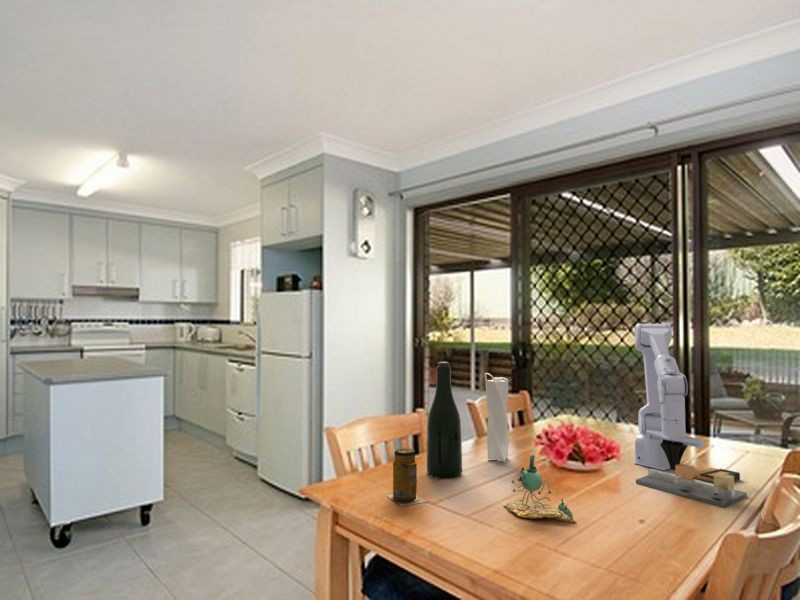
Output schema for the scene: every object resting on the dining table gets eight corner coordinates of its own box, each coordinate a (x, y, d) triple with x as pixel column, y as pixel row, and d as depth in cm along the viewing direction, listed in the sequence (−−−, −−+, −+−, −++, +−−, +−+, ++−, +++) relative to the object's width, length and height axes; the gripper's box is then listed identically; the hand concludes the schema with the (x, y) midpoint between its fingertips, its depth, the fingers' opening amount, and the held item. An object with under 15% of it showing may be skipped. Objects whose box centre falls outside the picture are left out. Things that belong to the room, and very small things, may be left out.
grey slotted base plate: (635, 483, 136) (635, 461, 136) (660, 474, 143) (659, 454, 144) (724, 507, 118) (723, 483, 118) (746, 496, 125) (746, 473, 126)
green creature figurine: (561, 533, 105) (553, 462, 106) (492, 518, 117) (485, 455, 119) (583, 520, 111) (574, 453, 113) (515, 507, 124) (508, 447, 126)
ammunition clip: (717, 478, 134) (675, 468, 144) (717, 485, 133) (675, 474, 144) (739, 472, 138) (697, 463, 149) (740, 479, 138) (697, 469, 149)
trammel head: (669, 483, 130) (669, 467, 130) (682, 478, 134) (681, 463, 134) (682, 486, 127) (681, 470, 128) (694, 481, 131) (694, 465, 131)
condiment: (411, 491, 130) (410, 446, 131) (426, 502, 123) (426, 453, 123) (385, 496, 127) (385, 449, 128) (400, 507, 119) (400, 457, 120)
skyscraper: (482, 460, 158) (481, 373, 160) (487, 455, 165) (486, 371, 166) (507, 463, 155) (506, 374, 156) (511, 457, 162) (510, 372, 163)
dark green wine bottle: (450, 466, 152) (449, 359, 153) (469, 476, 143) (468, 362, 144) (420, 471, 147) (419, 361, 149) (437, 481, 138) (436, 363, 139)
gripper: (639, 416, 138) (640, 465, 138) (694, 425, 126) (695, 479, 126) (652, 413, 142) (654, 461, 142) (707, 422, 130) (708, 474, 130)
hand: (674, 469), depth 134 cm, fingers closed
